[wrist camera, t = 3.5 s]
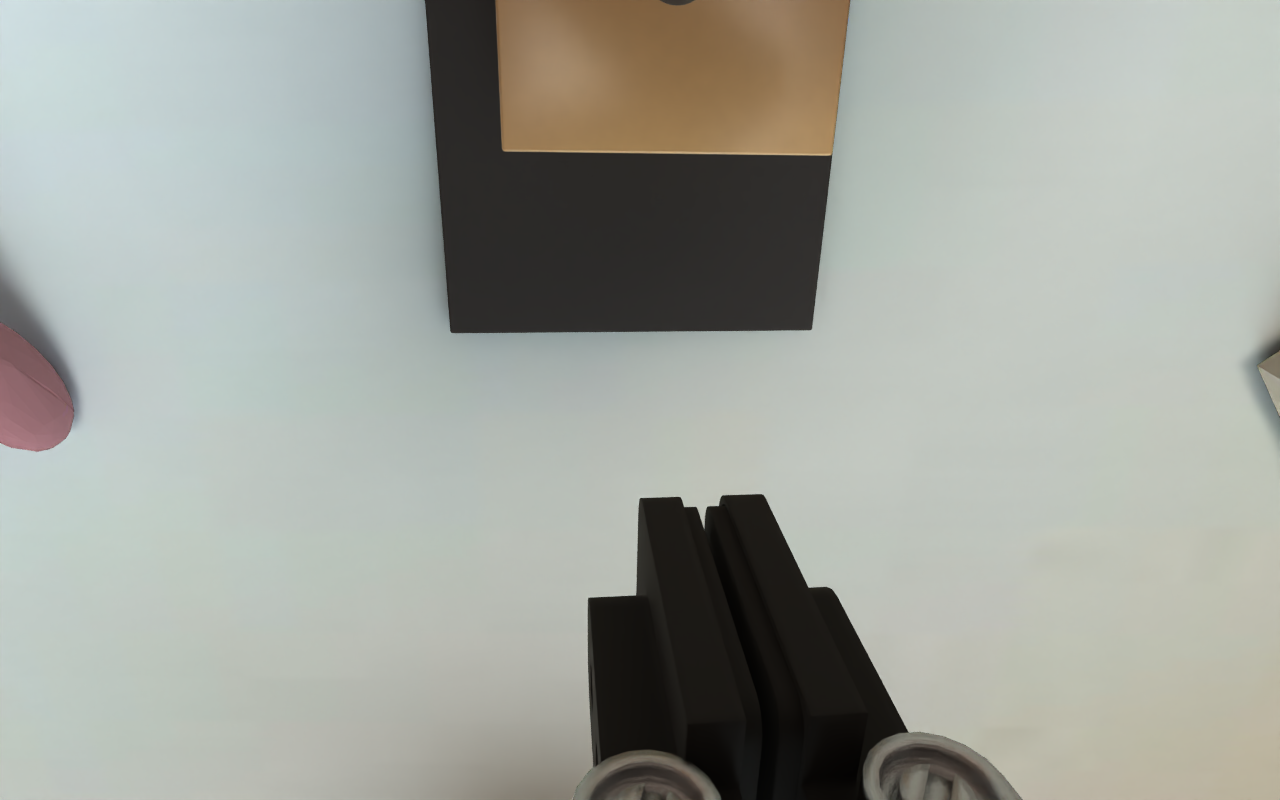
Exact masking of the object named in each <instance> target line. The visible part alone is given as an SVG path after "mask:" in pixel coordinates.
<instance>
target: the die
mask: <svg viewBox="0 0 1280 800" xmlns="http://www.w3.org/2000/svg"><path fill="white" fill-rule="evenodd" d="M495 4H496V27H497V49H498V72H499V94H500V117H501V139H502V149H503V151H505V152H581V153H659V154H738V155H816V156H829V155H831V154H832V151H833V142H834V134H835V125H836V117H837V108H838V100H839V91H840V83H841V74H842V66H843V57H844V48H845V40H846V31H847V23H848V14H849V6H850V0H495Z"/></svg>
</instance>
